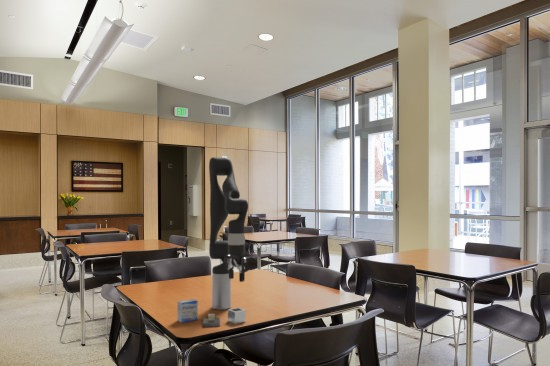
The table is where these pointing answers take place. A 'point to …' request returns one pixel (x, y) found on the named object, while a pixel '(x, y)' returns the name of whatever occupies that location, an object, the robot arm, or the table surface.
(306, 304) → the table surface
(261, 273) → the table surface
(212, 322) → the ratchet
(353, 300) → the table surface
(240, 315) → the socket
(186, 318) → the medicine box
